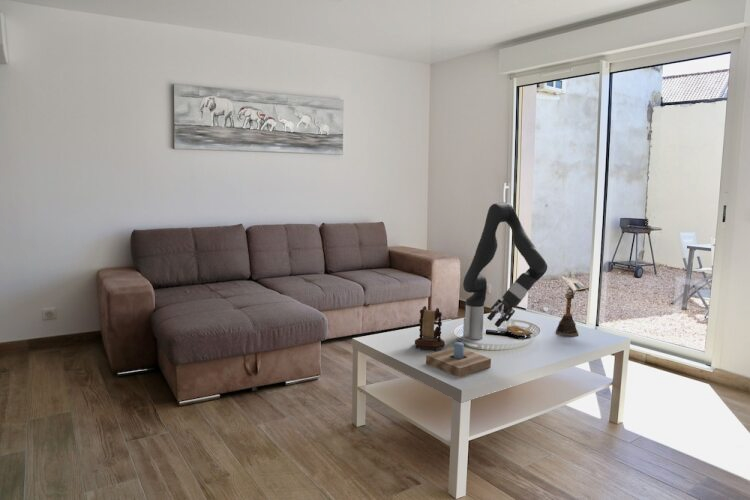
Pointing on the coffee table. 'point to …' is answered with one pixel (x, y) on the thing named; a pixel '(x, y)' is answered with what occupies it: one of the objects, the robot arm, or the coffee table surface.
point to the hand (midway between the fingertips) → (492, 322)
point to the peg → (458, 350)
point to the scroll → (430, 330)
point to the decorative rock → (518, 330)
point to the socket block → (458, 362)
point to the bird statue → (567, 323)
